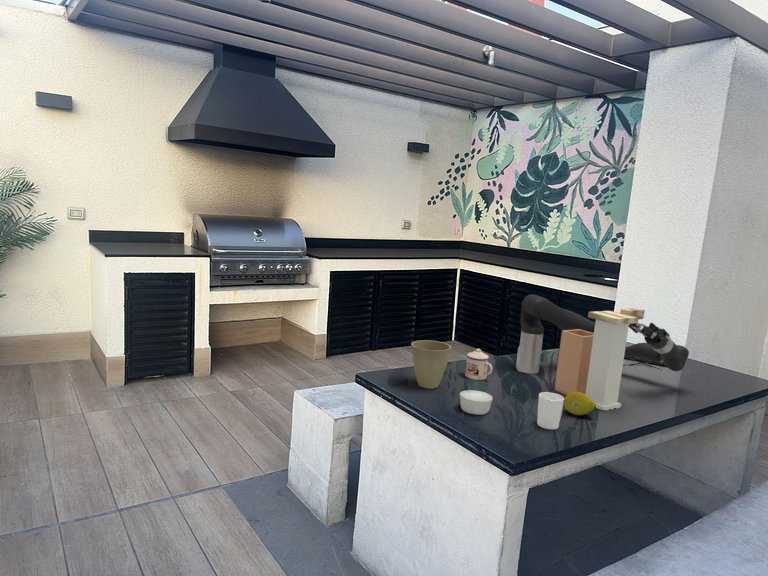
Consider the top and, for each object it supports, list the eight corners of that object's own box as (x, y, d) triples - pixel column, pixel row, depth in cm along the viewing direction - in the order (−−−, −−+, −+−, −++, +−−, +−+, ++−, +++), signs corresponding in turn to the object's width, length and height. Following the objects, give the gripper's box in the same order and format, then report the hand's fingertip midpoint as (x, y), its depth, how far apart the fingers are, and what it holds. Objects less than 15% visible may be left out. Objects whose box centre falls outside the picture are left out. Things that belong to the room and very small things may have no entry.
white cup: (543, 431, 177) (547, 401, 175) (530, 421, 184) (534, 392, 183) (565, 430, 179) (569, 400, 178) (551, 420, 187) (555, 391, 185)
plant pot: (436, 378, 222) (440, 339, 220) (453, 391, 208) (457, 350, 206) (402, 380, 217) (405, 340, 214) (417, 393, 203) (421, 350, 201)
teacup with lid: (459, 375, 228) (462, 348, 227) (473, 372, 235) (476, 345, 233) (483, 383, 220) (486, 355, 218) (497, 380, 226) (500, 352, 224)
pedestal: (597, 398, 213) (609, 316, 208) (620, 407, 205) (633, 322, 200) (580, 401, 208) (591, 317, 203) (603, 411, 199) (615, 323, 194)
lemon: (557, 411, 196) (560, 389, 194) (569, 407, 201) (572, 386, 199) (585, 422, 187) (588, 399, 186) (597, 417, 192) (600, 395, 191)
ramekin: (468, 401, 199) (470, 387, 198) (497, 410, 192) (498, 396, 191) (452, 409, 190) (453, 394, 189) (480, 419, 183) (482, 403, 182)
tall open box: (571, 387, 224) (579, 329, 220) (592, 395, 216) (600, 335, 212) (554, 390, 219) (562, 330, 215) (574, 398, 211) (583, 336, 207)
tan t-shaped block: (625, 314, 215) (626, 305, 214) (654, 321, 205) (655, 312, 204) (587, 317, 203) (589, 307, 203) (616, 324, 193) (617, 314, 192)
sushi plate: (674, 363, 277) (675, 356, 277) (668, 377, 252) (670, 369, 251) (612, 351, 292) (613, 344, 292) (601, 363, 267) (602, 355, 266)
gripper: (646, 328, 225) (627, 309, 217) (680, 336, 213) (661, 317, 205) (638, 344, 224) (619, 326, 216) (672, 354, 212) (653, 335, 204)
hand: (640, 322), depth 210 cm, fingers open, 8 cm apart
